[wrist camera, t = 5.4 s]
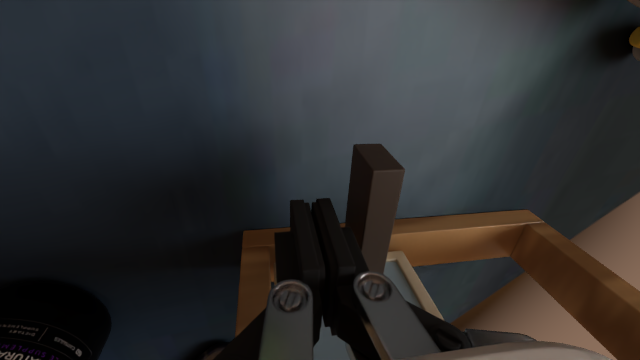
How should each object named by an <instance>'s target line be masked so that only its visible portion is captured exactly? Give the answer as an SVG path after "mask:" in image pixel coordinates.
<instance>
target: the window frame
mask: <svg viewBox="0 0 640 360" xmlns="http://www.w3.org/2000/svg"><path fill="white" fill-rule="evenodd" d="M340 226H341V227H345V223H341V224H340ZM287 231H290V227H288V228H275V229H261V230H248V231H243V242H242V256H241V268H240V281H239V294H238V307H237V320H236V333H235V337H236V336H237V335H238V334H239V333H240V332H241V331H242V330H244V329H245V328H246V327H247V326H248V325H249V324H250V323H251V322H252V321H253V320H254V319H255V318H256V317H257V316H258V315H259V314H260V313H261V312H262V311H263V310H264V309H265V308H266V306H267V299H268V295H269V292H270V290H271V282H274V263H275V241H274V232H287ZM392 251H403V253H404V254H405V256H406V258H407V259H408V261H409V263H410V264H411V266H412V267H414V266H424V265H433V264H442V263H452V262H461V261H471V260H480V259H489V258H499V257H508V256H511V258H512V259H513V260H514V261H516V262H517V263H518V264H519V265H520V266H521V267H522V268H523V269H524V270H525V271H526V272H527V273H528V274H529V275H530V276H531V277H532V278H533V279H534V280H535V281H536V282H538V283H539V285H540V286H542V287H543V288H544V289H545V290H546V291H547V292H548V293H549V294H550V295H551V296H552V297H553V298H554V299H555V300H556V301H557V302H558V303H559V304H560V305H561V306H562V307H563V308H564V309H565V310H566V311H567V312H568V313H570V314H571V315H572V316H573V317H574V318H575V319H576V320H577V321H578V322H579V323H580V324H581V325H582V326H583V327H584V328H585V329H586V330H587V331H589V333H590V334H591V335H592V336H593V337H594V338H596V339H597V340H598V341H599V342H600V343H601V344H602V345H603V346H604V347H605V348H606V349H607V350H608V351H609V352H610V353H611V354H612V355H613V356H614V357H615V358H616V359H617V360H640V291H638V290H637V289H636V288H634V287H633V286H631V285H630V284H629V283H627V282H626V281H625V280H623V279H622V278H620V277H619V276H618V275H616V274H615V273H614V272H612V271H611V270H609V269H608V268H607V267H605V266H604V265H603V264H601V263H600V262H599V261H597V260H596V259H594V258H593V257H591V256H590V255H589V254H587V253H586V252H585V251H583V250H582V249H581V248H579V247H578V246H577V245H575V244H574V243H572V242H571V241H570V240H568V239H567V238H566V237H564V236H563V235H561V234H560V233H559V232H557V231H556V230H554V229H553V228H552V227H550V226H549V225H548V224H546V223H544V221H542V220H541V219H540V218H538V217H537V216H536V215H534V214H533V213H531V212H530V211H529V210H514V211H501V212H487V213H474V214H461V215H447V216H434V217H421V218H408V219H395V221H394V225H393V230H392V235H391V240H390V245H389V249H388V252H392Z"/></svg>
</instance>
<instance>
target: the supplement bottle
mask: <svg viewBox="0 0 640 360" xmlns="http://www.w3.org/2000/svg"><path fill="white" fill-rule="evenodd" d="M110 331H111V317H110V314H109V312H108V310H107V308H106V307H105V306H104V304H103V303H102V302H101V301H100V300H99V299H97V298H96V297H95V296H93V295H92V294H90V293H88V292H87V291H84V290H82V289H80V288H77V287H75V286H71V285H68V284H64V283H59V282H51V281H29V282H22V283H17V284H13V285H9V286H6V287H4V288H1V289H0V360H98V358H99V356H100V354H101V352H102V349H103V347H104V345H105V343H106V341H107V339H108V337H109V334H110Z"/></svg>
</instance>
